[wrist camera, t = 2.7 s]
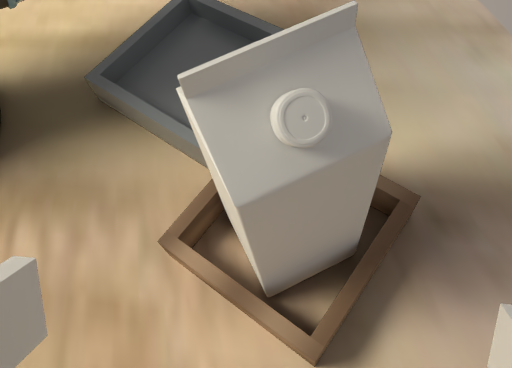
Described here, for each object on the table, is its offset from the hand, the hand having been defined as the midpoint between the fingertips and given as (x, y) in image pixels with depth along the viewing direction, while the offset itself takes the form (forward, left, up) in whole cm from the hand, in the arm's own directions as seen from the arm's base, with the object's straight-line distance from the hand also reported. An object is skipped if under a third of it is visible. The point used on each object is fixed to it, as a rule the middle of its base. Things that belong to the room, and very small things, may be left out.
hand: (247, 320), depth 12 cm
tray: (-21, +16, -17) cm, 32 cm away
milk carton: (-5, +8, -18) cm, 20 cm away
